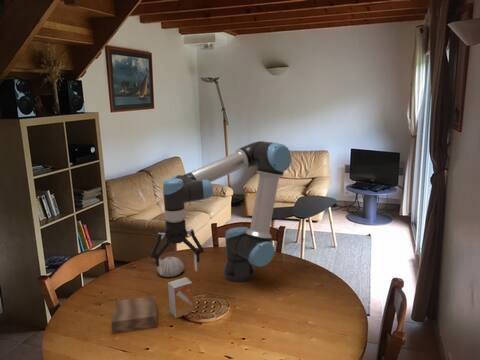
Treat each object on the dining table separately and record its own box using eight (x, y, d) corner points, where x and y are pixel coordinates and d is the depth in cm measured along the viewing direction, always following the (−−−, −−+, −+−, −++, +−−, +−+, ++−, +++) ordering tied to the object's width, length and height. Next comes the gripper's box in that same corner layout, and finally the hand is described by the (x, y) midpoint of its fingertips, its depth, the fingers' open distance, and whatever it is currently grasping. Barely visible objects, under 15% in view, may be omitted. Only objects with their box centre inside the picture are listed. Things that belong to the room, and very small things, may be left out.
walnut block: (156, 306, 168) (155, 295, 167) (157, 327, 152) (155, 315, 151) (116, 312, 165) (115, 301, 164) (112, 334, 149) (111, 322, 148)
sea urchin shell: (162, 281, 190) (160, 265, 188) (153, 271, 202) (152, 256, 200) (188, 274, 196) (187, 259, 195) (178, 265, 208) (177, 250, 206)
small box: (176, 319, 157) (173, 288, 155) (169, 312, 162) (167, 282, 160) (194, 312, 162) (192, 282, 159) (187, 305, 167) (185, 276, 164)
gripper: (206, 214, 160) (209, 264, 164) (141, 219, 155) (146, 271, 159) (209, 219, 153) (211, 271, 157) (141, 225, 148) (145, 279, 152)
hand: (178, 271), depth 158 cm, fingers open, 13 cm apart
